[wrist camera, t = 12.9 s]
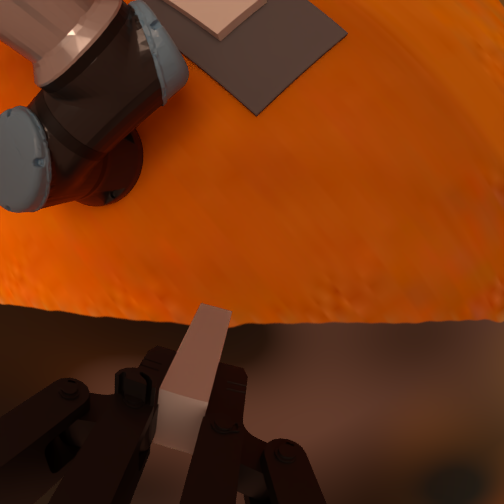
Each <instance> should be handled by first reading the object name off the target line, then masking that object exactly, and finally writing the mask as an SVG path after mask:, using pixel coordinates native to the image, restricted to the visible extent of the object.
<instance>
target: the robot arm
mask: <svg viewBox="0 0 504 504" xmlns="http://www.w3.org/2000/svg"><path fill="white" fill-rule="evenodd" d="M0 40H1V41H2V42H4V43H5V44H7V45H8V46H9V47H11V48H12V49H14V50H15V51H17V52H18V53H19V54H21V55H22V56H24V57H25V58H27V59H28V60H29V61H31V62H32V64H33V68H34V83H35V84H36V85H37V86H39V87H40V88H42V90H41V91H40V92H39V93H38V94H37V96H36V97H35V98H34V99H33V100H32V102H31V103H30V104H29V105H28V106H27V107H24V106H16V107H14V108H12V109H8V110H6V111H4V112H3V113H2V114H1V115H0V205H1V206H2V207H3V208H4V209H6V210H8V211H11V212H16V213H21V212H35V211H38V210H40V209H42V208H46V207H50V206H54V205H58V204H62V203H66V202H71V201H77V202H80V203H82V204H85V205H88V206H104V205H108V204H112V203H114V202H117V201H119V200H120V199H122V198H123V197H125V196H126V195H127V194H128V193H129V192H130V191H131V189H132V188H133V187H134V185H135V184H136V182H137V180H138V178H139V175H140V172H141V168H142V163H143V148H142V143H141V140H140V137H139V135H138V133H137V131H136V130H135V128H136V127H137V126H138V125H139V124H140V123H141V122H142V121H143V120H145V119H146V118H147V117H148V116H149V115H150V114H151V113H153V112H154V111H155V110H156V109H157V108H159V107H160V106H164V105H165V104H166V103H167V100H168V99H169V98H171V97H172V96H173V95H174V94H175V93H176V92H177V91H179V90H180V89H181V88H182V87H183V86H184V85H185V84H186V82H187V80H188V76H189V71H188V67H187V64H186V62H185V60H184V59H183V57H182V55H181V53H180V51H179V50H178V48H177V46H176V45H175V43H174V41H173V40H172V38H171V37H170V35H169V34H168V32H167V31H166V29H165V28H164V27H163V26H162V25H161V23H160V21H159V20H158V19H157V17H156V15H155V14H154V12H153V11H152V10H151V9H150V7H149V6H148V5H147V4H146V3H145V2H144V1H143V0H136V1H132V2H130V3H129V4H128V5H127V4H126V3H125V2H124V1H123V0H0ZM231 314H232V311H229V310H225V309H221V308H217V307H214V306H210V305H206V304H203V303H201V304H200V306H199V308H198V310H197V312H196V314H195V316H194V318H193V320H192V323H191V325H190V327H189V329H188V331H187V333H186V335H185V337H184V339H183V341H182V343H181V345H180V347H179V349H178V351H174V350H170V349H167V348H164V347H160V346H156V347H154V348H153V349H151V350H149V351H148V352H147V354H146V356H145V357H144V359H143V360H142V362H141V364H140V365H139V367H138V368H124V369H121V370H119V371H118V372H117V373H116V374H115V394H112V395H101V394H94V393H89V390H88V387H87V386H86V385H85V384H84V383H83V382H81V381H79V380H77V379H73V378H63V379H59V380H57V381H55V382H53V383H52V384H50V385H49V386H47V387H46V388H44V389H43V390H42V391H40V392H38V393H37V394H35V395H34V396H32V397H31V398H29V399H28V400H26V401H24V402H23V403H22V404H20V405H18V406H17V407H15V408H14V409H12V410H11V411H9V412H8V413H6V414H5V415H3V416H2V417H0V504H34V503H35V502H36V501H37V500H38V499H39V498H40V497H42V496H43V495H44V494H45V493H46V492H47V491H48V490H49V489H50V488H52V487H53V486H54V485H55V484H56V483H57V482H58V481H59V480H60V479H61V478H62V477H63V479H62V480H61V482H60V484H59V485H58V487H57V489H56V491H55V492H54V494H53V496H52V497H51V499H50V501H49V503H48V504H130V503H131V500H132V498H133V495H134V493H135V490H136V488H137V485H138V482H139V480H140V477H141V475H142V472H143V470H144V467H145V464H146V462H147V459H148V456H149V454H150V445H151V443H152V440H153V438H154V443H156V444H159V445H163V446H166V447H169V448H172V449H176V450H180V451H183V452H187V453H191V454H193V456H192V459H191V463H190V467H189V470H188V474H187V478H186V482H185V485H184V489H183V493H182V496H181V500H180V504H236V496H237V491H238V492H240V493H242V494H244V500H245V504H326V501H325V499H324V496H323V494H322V492H321V489H320V487H319V484H318V482H317V479H316V477H315V475H314V472H313V470H312V467H311V465H310V462H309V460H308V457H307V455H306V453H305V451H304V450H303V448H302V447H301V446H300V445H298V444H297V443H295V442H293V441H291V440H288V439H281V438H280V439H274V440H272V441H270V442H268V443H266V442H264V441H262V440H260V439H258V438H256V437H254V436H252V435H251V434H250V433H249V432H248V431H247V430H246V429H245V427H244V425H243V412H244V404H245V394H246V386H247V378H248V377H247V375H246V373H245V371H244V369H243V368H240V367H236V366H232V365H228V364H224V363H220V362H219V361H220V357H221V353H222V349H223V345H224V341H225V337H226V333H227V329H228V325H229V321H230V317H231Z"/></svg>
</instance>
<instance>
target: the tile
mask: <svg viewBox="0 0 504 504" xmlns="http://www.w3.org/2000/svg"><path fill="white" fill-rule="evenodd" d="M162 1H164V2H166V3H167V4H169V5H170V6H172V7H173V8H175V9H176V10H178V11H179V12H181V13H182V14H183V15H185V16H186V17H188V18H189V19H191V20H192V21H193V22H195V23H196V24H198V25H199V26H200V27H202V28H203V29H205V30H206V31H207V32H209V33H210V34H211V35H213V36H214V37H215V38H217V39H218V40H219V41H222V40H223V39H224V38H225V37H226V36H227V35H228V34H229V33H231V32H232V31H233V30H234V29H235V28H236V27H237V26H239V25H240V24H241V23H242V22H243V21H245V20H246V19H247V18H248V17H249V16H251V15H252V14H253V13H254V12H256V11H257V10H258V9H259V8H261V7H262V6H263V5H264V4H266V3H267V0H162Z"/></svg>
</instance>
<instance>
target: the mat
mask: <svg viewBox="0 0 504 504" xmlns="http://www.w3.org/2000/svg"><path fill="white" fill-rule="evenodd" d="M143 1H144V2H145V3H146V4H147V5H148V6H149V7H150V9H151V10H152V11H153V12H154V14H155V15H156V17H157V19H158V20H159V21H160V23H161V25H162V26H163V27H164V28H165V29H166V31H167V32H168V34H169V35H170V37H171V38H172V40H173V41H174V43H175V45H176V46H177V48H178V50H179V51H180V52H181V53H182V54H184V55H185V56H186V57H187V58H189V59H190V60H191V61H192V62H194V63H195V64H196V65H197V66H199V67H200V68H201V69H202V70H204V71H205V72H206V73H207V74H208V75H210V76H211V77H212V78H213V79H214V80H216V81H217V82H218V83H219V84H220V85H222V86H223V87H224V88H225V89H226V90H227V91H228V92H230V93H231V94H232V95H233V96H234V97H235V98H237V99H238V100H239V101H240V102H241V103H242V104H243V105H244V106H246V107H247V108H248V109H249V110H250V111H251V112H252V113H253V114H254V115H256V116H258V115H259V114H260V113H261V112H262V111H263V110H264V109H265V108H266V107H267V106H268V105H269V104H270V103H271V102H272V101H273V100H274V99H275V98H276V97H277V96H278V95H279V94H281V93H282V92H283V91H284V90H285V89H286V88H287V87H288V86H289V85H290V84H291V83H292V82H293V81H295V80H296V79H297V78H298V77H299V76H300V75H301V74H302V73H303V72H305V71H306V70H307V69H308V68H309V67H310V66H311V65H312V64H314V63H315V62H316V61H317V60H318V59H319V58H320V57H322V56H323V55H324V54H325V53H326V52H327V51H329V50H330V49H331V48H332V47H333V46H334V45H336V44H337V43H338V42H339V41H340V40H342V39H343V38H344V37H345V36H347V34H348V33H347V32H346V31H345V30H344V29H342V28H341V27H340V26H339V25H338V24H337V23H335V22H334V21H333V20H332V19H331V18H329V17H328V16H327V15H326V14H324V13H323V12H322V11H321V10H319V9H318V8H317V7H316V6H314V5H313V4H312V3H310V2H309V1H308V0H267V3H266V4H264V5H263V6H262V7H261V8H259V9H258V10H257V11H256V12H254V13H253V14H252V15H251V16H249V17H248V18H247V19H246V20H245V21H243V22H242V23H241V24H240V25H239V26H237V27H236V28H235V29H234V30H233V31H232V32H231V33H229V34H228V35H227V36H226V37H225V38H224V39H223V40H222V41H219V40H218V39H217V38H215V37H214V36H213V35H211V34H210V33H209V32H207V31H206V30H205V29H203V28H202V27H200V26H199V25H198V24H196V23H195V22H193V21H192V20H191V19H189V18H188V17H186V16H185V15H183V14H182V13H181V12H179V11H178V10H176V9H175V8H173V7H172V6H170V5H169V4H167V3H166V2H164V1H162V0H143Z"/></svg>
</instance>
